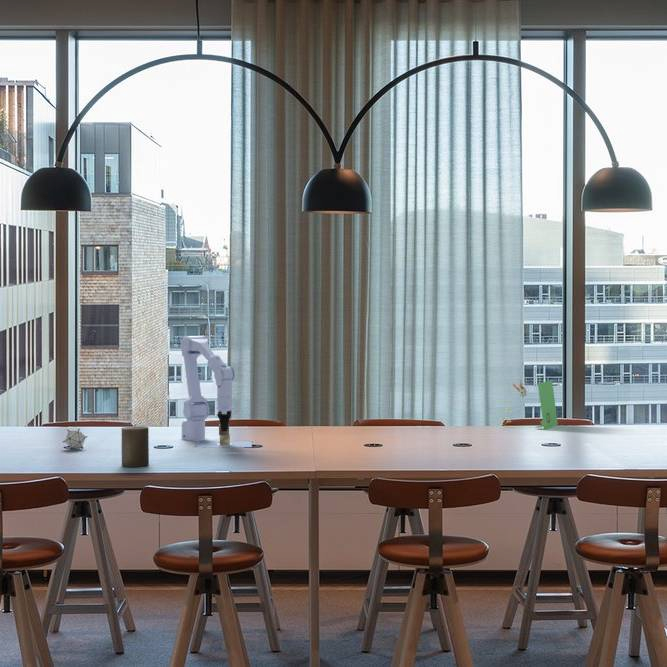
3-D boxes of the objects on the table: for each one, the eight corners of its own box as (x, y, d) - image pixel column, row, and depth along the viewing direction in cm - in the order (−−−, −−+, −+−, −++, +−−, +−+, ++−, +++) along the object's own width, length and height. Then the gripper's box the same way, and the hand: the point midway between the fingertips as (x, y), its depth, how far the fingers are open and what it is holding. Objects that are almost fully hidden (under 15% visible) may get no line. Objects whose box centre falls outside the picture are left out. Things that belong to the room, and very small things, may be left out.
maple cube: (219, 445, 431) (219, 435, 430) (220, 443, 435) (220, 433, 434) (229, 444, 431) (229, 435, 431) (229, 443, 435) (229, 433, 435)
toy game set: (508, 429, 516) (502, 380, 517) (559, 425, 504) (552, 375, 505) (493, 434, 497) (486, 383, 498) (545, 430, 485) (538, 378, 486)
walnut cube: (219, 435, 430) (218, 425, 430) (219, 433, 434) (219, 424, 434) (228, 435, 431) (228, 425, 431) (229, 433, 435) (229, 424, 435)
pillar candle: (149, 467, 380) (149, 425, 379) (121, 467, 378) (121, 425, 377) (148, 463, 389) (148, 422, 389) (121, 464, 387) (121, 422, 387)
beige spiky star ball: (70, 458, 422) (54, 439, 421) (81, 448, 430) (66, 429, 428) (84, 449, 418) (68, 429, 417) (95, 439, 425) (80, 419, 424)
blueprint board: (196, 448, 424) (196, 447, 424) (197, 443, 439) (197, 442, 439) (251, 448, 426) (251, 446, 426) (251, 443, 441) (251, 441, 441)
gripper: (234, 398, 425) (234, 432, 426) (234, 394, 440) (234, 427, 440) (216, 398, 424) (216, 432, 425) (217, 395, 439) (217, 427, 439)
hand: (224, 430), depth 432 cm, fingers open, 7 cm apart
